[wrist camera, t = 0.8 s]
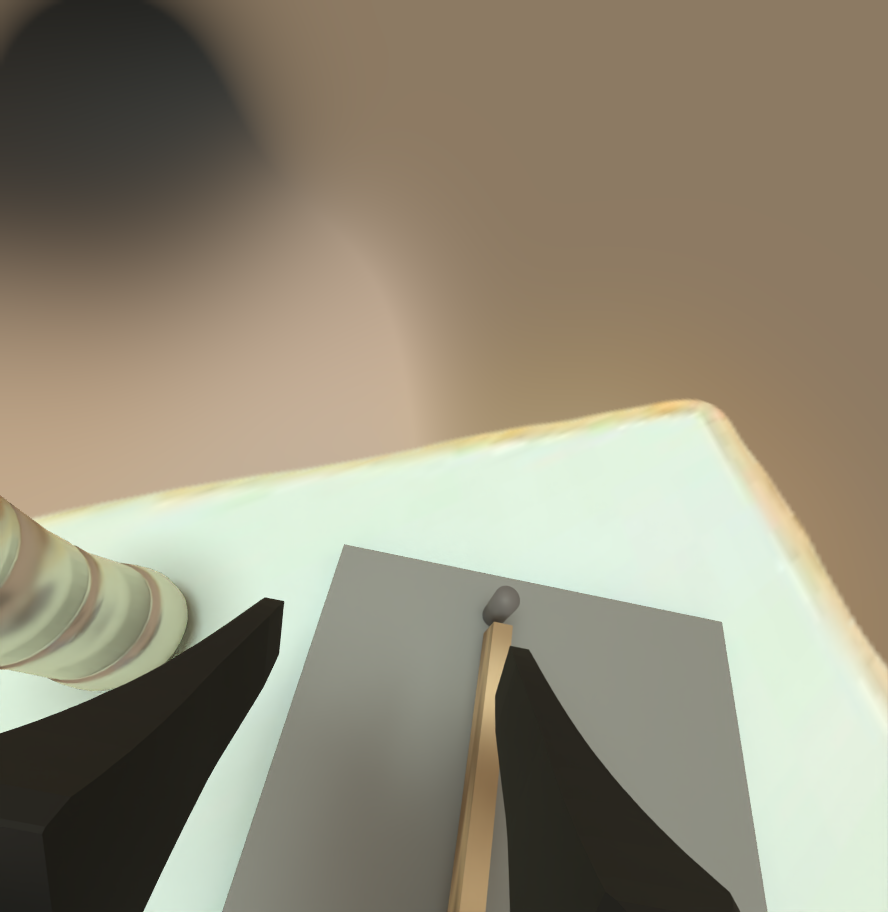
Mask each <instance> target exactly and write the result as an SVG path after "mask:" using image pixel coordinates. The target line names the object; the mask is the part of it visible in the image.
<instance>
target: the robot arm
mask: <svg viewBox="0 0 888 912" xmlns="http://www.w3.org/2000/svg"><path fill="white" fill-rule="evenodd" d="M283 607H284V601H280V600H275V599H270V598H263V599H262V600H260V601H259V602H257V603H256V604H254V605H253V606H252V607H250V608H249V609H247V610H246V611H245V612H243V613H242V614H240V615H239V616H238V617H236V618H235V619H233V620H232V621H230V622H229V623H228V624H226V625H225V626H223V627H222V628H220V629H219V630H217V631H216V632H214V633H213V634H211V635H210V636H208V637H207V638H205V639H204V640H202V641H201V642H199V643H197V644H196V645H194V646H193V647H191V648H189V649H188V650H186V651H184V652H183V653H181V654H180V655H178V656H176V657H175V658H173V659H171V660H170V661H168V662H166V663H164V664H162V665H161V666H159V667H157V668H155V669H153V670H151V671H150V672H148V673H146V674H144V675H142V676H140V677H138V678H136V679H134V680H132V681H130V682H128V683H126V684H124V685H121V686H119V687H117V688H115V689H113V690H110V691H108V692H106V693H104V694H102V695H99V696H97V697H95V698H93V699H91V700H88V701H86V702H84V703H81V704H79V705H76V706H74V707H72V708H69V709H67V710H64V711H62V712H59V713H56V714H54V715H51V716H48V717H46V718H43V719H41V720H38V721H35V722H32V723H30V724H27V725H24V726H21V727H18V728H15V729H12V730H9V731H6V732H3V733H0V912H143V911H144V909H145V907H146V905H147V902H148V900H149V898H150V896H151V894H152V892H153V890H154V888H155V885H156V883H157V881H158V879H159V877H160V875H161V873H162V871H163V868H164V866H165V864H166V862H167V860H168V858H169V856H170V854H171V852H172V850H173V848H174V846H175V844H176V842H177V840H178V838H179V836H180V834H181V832H182V829H183V827H184V825H185V823H186V821H187V819H188V817H189V815H190V813H191V811H192V809H193V807H194V806H195V804H196V802H197V800H198V798H199V796H200V794H201V792H202V790H203V788H204V786H205V784H206V782H207V780H208V778H209V776H210V775H211V773H212V771H213V769H214V768H215V766H216V764H217V762H218V761H219V759H220V757H221V756H222V754H223V752H224V751H225V749H226V748H227V746H228V744H229V743H230V741H231V739H232V738H233V736H234V735H235V733H236V731H237V730H238V728H239V726H240V725H241V723H242V722H243V720H244V718H245V717H246V715H247V713H248V712H249V710H250V708H251V707H252V705H253V704H254V702H255V700H256V699H257V697H258V695H259V694H260V692H261V690H262V689H263V687H264V685H265V683H266V681H267V679H268V677H269V675H270V672H271V670H272V668H273V666H274V664H275V662H276V659H277V657H278V655H279V649H280V638H281V628H282V618H283ZM495 733H496V742H497V751H498V759H499V768H500V776H501V784H502V792H503V800H504V808H505V817H506V828H507V843H508V868H509V899H510V912H740V910H739V908H738V906H737V904H736V902H735V901H734V899H733V897H732V895H731V893H730V892H729V891H728V890H727V889H726V888H725V887H723V886H722V885H721V884H720V883H719V882H718V881H717V880H716V879H714V878H713V877H712V876H711V875H710V874H709V873H708V872H707V871H705V870H704V869H703V868H702V867H701V866H700V865H699V864H698V863H696V862H695V861H694V860H693V859H692V858H691V857H690V856H689V855H687V854H686V853H685V852H684V851H683V850H682V849H681V848H680V847H679V846H678V845H677V844H676V843H675V842H674V841H673V840H672V839H671V838H670V837H669V836H668V835H667V834H666V833H665V832H664V831H663V830H662V829H661V828H660V827H659V826H658V825H657V824H656V823H655V822H654V821H653V820H652V819H651V818H650V817H649V816H648V815H647V814H646V813H645V812H644V811H643V810H642V809H641V807H640V806H639V805H638V804H637V803H636V802H635V801H634V800H633V799H632V797H631V796H630V795H629V794H628V793H627V792H626V791H625V790H624V789H623V787H622V786H621V785H620V784H619V783H618V782H617V780H616V779H615V778H614V777H613V776H612V775H611V773H610V772H609V771H608V769H607V768H606V767H605V766H604V764H603V763H602V762H601V761H600V759H599V758H598V757H597V756H596V754H595V753H594V752H593V750H592V749H591V748H590V746H589V745H588V744H587V742H586V741H585V740H584V738H583V737H582V735H581V734H580V732H579V731H578V729H577V728H576V727H575V725H574V724H573V722H572V721H571V719H570V718H569V716H568V714H567V713H566V711H565V710H564V708H563V706H562V705H561V703H560V702H559V700H558V698H557V697H556V695H555V694H554V692H553V690H552V689H551V687H550V685H549V683H548V682H547V680H546V678H545V676H544V675H543V673H542V671H541V669H540V668H539V666H538V664H537V662H536V661H535V659H534V657H533V655H532V653H531V652H530V650H529V649H525V648H520V647H514V646H510V647H509V650H508V654H507V657H506V660H505V664H504V667H503V670H502V674H501V677H500V681H499V684H498V687H497V691H496V694H495Z"/></svg>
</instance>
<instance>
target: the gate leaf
mask: <svg viewBox="0 0 888 912" xmlns="http://www.w3.org/2000/svg"><path fill="white" fill-rule="evenodd" d="M512 630H513V626H512V625H508V624H503V623H498V622H493V623H492V624H491V626H490V627H489V628H488V629H487V630H486V631H485V632H484V635H483V642H482V650H481V658H480V665H479V673H478V681H477V688H476V696H475V704H474V712H473V719H472V727H471V735H470V742H469V750H468V758H467V765H466V773H465V781H464V788H463V796H462V804H461V812H460V819H459V827H458V835H457V842H456V850H455V858H454V865H453V873H452V881H451V889H450V896H449V904H448V912H485V911H486V901H487V890H488V880H489V870H490V859H491V849H492V838H493V828H494V817H495V807H496V797H497V786H498V776H499V759H498V751H497V742H496V733H495V694H496V691H497V687H498V684H499V681H500V677H501V674H502V670H503V667H504V664H505V660H506V657H507V654H508V650H509V647H510V646H511V640H512Z"/></svg>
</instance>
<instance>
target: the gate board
mask: <svg viewBox="0 0 888 912" xmlns="http://www.w3.org/2000/svg"><path fill="white" fill-rule="evenodd" d="M493 622H498V623H503V624H508V625H512V626H513V630H512V640H511V646H514V647H520V648H525V649H529V650H530V652H531V653H532V655H533V657H534V659H535V661H536V662H537V664H538V666H539V668H540V669H541V671H542V673H543V675H544V676H545V678H546V680H547V682H548V683H549V685H550V687H551V689H552V690H553V692H554V694H555V695H556V697H557V698H558V700H559V702H560V703H561V705H562V706H563V708H564V710H565V711H566V713H567V714H568V716H569V718H570V719H571V721H572V722H573V724H574V725H575V727H576V728H577V729H578V731H579V732H580V734H581V735H582V737H583V738H584V740H585V741H586V742H587V744H588V745H589V746H590V748H591V749H592V750H593V752H594V753H595V754H596V756H597V757H598V758H599V759H600V761H601V762H602V763H603V764H604V766H605V767H606V768H607V769H608V771H609V772H610V773H611V775H612V776H613V777H614V778H615V779H616V780H617V782H618V783H619V784H620V785H621V786H622V787H623V789H624V790H625V791H626V792H627V793H628V794H629V795H630V796H631V797H632V799H633V800H634V801H635V802H636V803H637V804H638V805H639V806H640V807H641V809H642V810H643V811H644V812H645V813H646V814H647V815H648V816H649V817H650V818H651V819H652V820H653V821H654V822H655V823H656V824H657V825H658V826H659V827H660V828H661V829H662V830H663V831H664V832H665V833H666V834H667V835H668V836H669V837H670V838H671V839H672V840H673V841H674V842H675V843H676V844H677V845H678V846H679V847H680V848H681V849H682V850H683V851H684V852H685V853H686V854H687V855H689V856H690V857H691V858H692V859H693V860H694V861H695V862H696V863H698V864H699V865H700V866H701V867H702V868H703V869H704V870H705V871H707V872H708V873H709V874H710V875H711V876H712V877H713V878H714V879H716V880H717V881H718V882H719V883H720V884H721V885H722V886H723V887H725V888H726V889H727V890H728V891H729V892H730V893H731V895H732V897H733V899H734V901H735V902H736V904H737V906H738V908H739V910H740V912H767V906H766V900H765V893H764V887H763V881H762V874H761V868H760V862H759V855H758V849H757V842H756V836H755V830H754V823H753V817H752V811H751V804H750V798H749V792H748V785H747V779H746V772H745V766H744V760H743V753H742V747H741V741H740V734H739V728H738V722H737V715H736V709H735V702H734V696H733V690H732V683H731V677H730V671H729V664H728V658H727V652H726V645H725V639H724V633H723V626H722V622H719V621H714V620H709V619H705V618H700V617H695V616H690V615H685V614H680V613H675V612H671V611H666V610H661V609H656V608H651V607H646V606H641V605H636V604H632V603H627V602H622V601H617V600H612V599H607V598H602V597H598V596H593V595H588V594H583V593H578V592H573V591H568V590H564V589H559V588H554V587H549V586H544V585H539V584H534V583H529V582H525V581H520V580H515V579H510V578H505V577H500V576H495V575H491V574H486V573H481V572H476V571H471V570H466V569H461V568H457V567H452V566H447V565H442V564H437V563H432V562H427V561H422V560H418V559H413V558H408V557H403V556H398V555H393V554H388V553H384V552H379V551H374V550H369V549H364V548H359V547H354V546H350V545H345V544H344V547H343V550H342V553H341V556H340V559H339V562H338V565H337V568H336V571H335V574H334V577H333V580H332V583H331V586H330V589H329V592H328V595H327V598H326V601H325V604H324V607H323V610H322V613H321V616H320V619H319V622H318V625H317V628H316V631H315V634H314V637H313V640H312V643H311V646H310V649H309V652H308V655H307V658H306V661H305V664H304V667H303V670H302V673H301V676H300V679H299V682H298V685H297V688H296V691H295V694H294V697H293V700H292V703H291V706H290V709H289V712H288V715H287V718H286V721H285V724H284V727H283V730H282V733H281V736H280V739H279V742H278V745H277V748H276V751H275V754H274V757H273V760H272V763H271V766H270V769H269V772H268V775H267V778H266V781H265V784H264V787H263V790H262V793H261V796H260V799H259V802H258V805H257V808H256V812H255V815H254V818H253V821H252V824H251V827H250V830H249V833H248V836H247V839H246V842H245V845H244V848H243V851H242V854H241V857H240V860H239V863H238V866H237V869H236V872H235V875H234V878H233V881H232V884H231V887H230V890H229V893H228V896H227V899H226V902H225V905H224V908H223V911H222V912H448V904H449V896H450V889H451V881H452V873H453V865H454V858H455V850H456V842H457V835H458V827H459V819H460V812H461V804H462V796H463V788H464V781H465V773H466V765H467V758H468V750H469V742H470V735H471V727H472V719H473V712H474V704H475V696H476V688H477V681H478V673H479V665H480V658H481V650H482V642H483V635H484V632H485V631H486V630H487V629H488V628H489V627H490V626H491V624H492V623H493ZM485 912H510V899H509V868H508V843H507V828H506V817H505V808H504V800H503V792H502V784H501V776H500V768H499V776H498V786H497V797H496V807H495V817H494V828H493V838H492V849H491V859H490V870H489V880H488V890H487V901H486V911H485Z"/></svg>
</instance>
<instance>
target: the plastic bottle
mask: <svg viewBox="0 0 888 912" xmlns="http://www.w3.org/2000/svg"><path fill="white" fill-rule="evenodd" d="M187 621H188V609H187V604H186V600H185V598H184V596H183V594H182V593H181V591H180V590H179V589H178V588H177V587H176V586H175V585H174V583H173V582H172V581H171V580H170V579H169V578H167V577H166V576H165V575H163V574H162V573H160V572H158V571H155V570H152V569H149V568H145V567H141V566H138V565H131V564H124V563H118V562H115V561H112V560H109V559H106V558H103V557H100V556H97V555H94V554H90V553H87V552H86V551H84V550H82V549H80V548H79V547H77V546H74V545H72V544H71V543H69V542H68V541H66V540H64V539H62V538H60V537H59V536H57V535H55V534H53V533H51V532H50V531H48V530H46V529H45V528H43V527H42V526H41V525H39V524H38V523H37V522H35V521H34V520H33V519H31V518H30V517H28V516H27V515H26V514H24V513H23V512H21V511H20V510H19V509H18V508H16V507H15V506H14V505H12V504H11V503H9V502H8V501H7V500H6V499H4V498H3V497H2V496H0V670H12V671H17V672H22V673H27V674H32V675H37V676H42V677H47V678H49V679H51V680H53V681H55V682H58V683H60V684H62V685H66V686H69V687H73V688H77V689H81V690H87V691H102V690H109V689H113V688H117V687H119V686H121V685H124V684H126V683H128V682H130V681H132V680H134V679H136V678H138V677H140V676H142V675H144V674H146V673H148V672H150V671H151V670H153V669H155V668H157V667H159V666H161V665H162V664H164V663H166V662H167V660H168V659H169V658H170V657H171V656H172V655H173V653H174V652H175V650H176V649H177V647H178V646H179V644H180V642H181V640H182V638H183V635H184V633H185V630H186V625H187Z"/></svg>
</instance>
